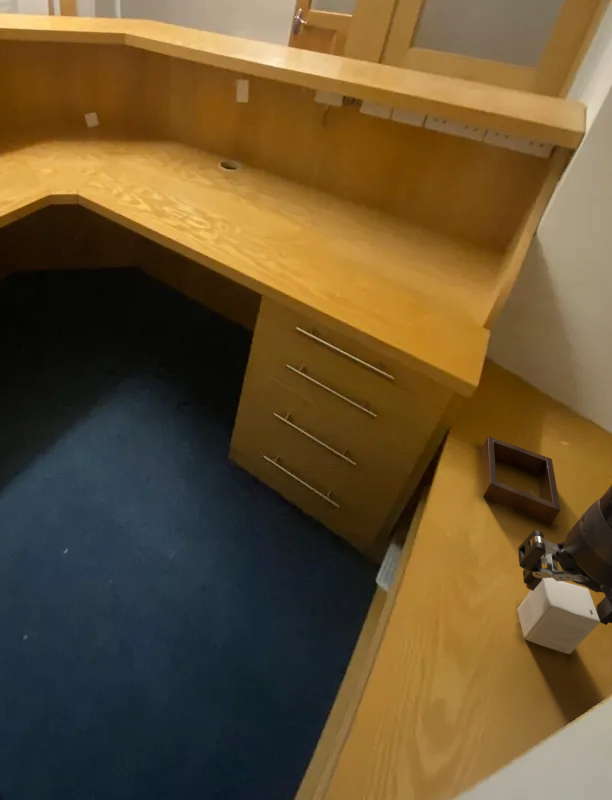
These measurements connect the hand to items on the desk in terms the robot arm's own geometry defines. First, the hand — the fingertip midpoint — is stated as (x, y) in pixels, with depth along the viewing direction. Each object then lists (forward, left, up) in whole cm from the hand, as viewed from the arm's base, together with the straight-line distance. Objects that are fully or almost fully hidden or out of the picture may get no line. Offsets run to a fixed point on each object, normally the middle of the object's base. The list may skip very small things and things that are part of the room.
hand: (563, 599), depth 72 cm
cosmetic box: (0, 0, -11) cm, 11 cm away
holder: (+2, -24, -11) cm, 26 cm away
